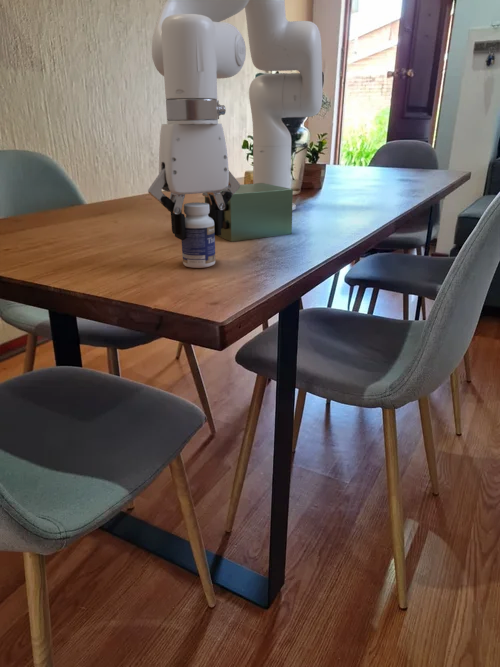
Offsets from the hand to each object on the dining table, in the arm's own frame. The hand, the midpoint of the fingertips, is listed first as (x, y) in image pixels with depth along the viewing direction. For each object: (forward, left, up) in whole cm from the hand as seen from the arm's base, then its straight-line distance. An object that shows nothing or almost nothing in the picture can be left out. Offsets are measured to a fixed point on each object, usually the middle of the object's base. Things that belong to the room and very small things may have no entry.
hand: (197, 234), depth 82 cm
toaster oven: (-18, +19, -5) cm, 27 cm away
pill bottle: (0, 0, -5) cm, 5 cm away
